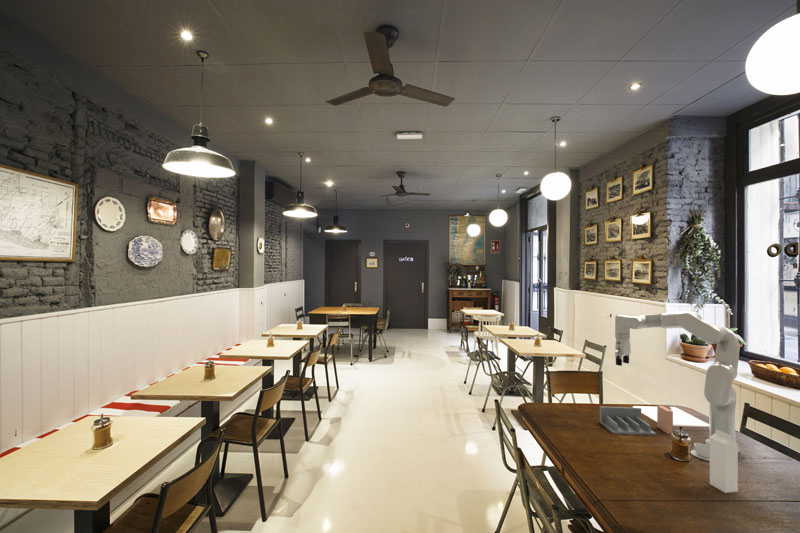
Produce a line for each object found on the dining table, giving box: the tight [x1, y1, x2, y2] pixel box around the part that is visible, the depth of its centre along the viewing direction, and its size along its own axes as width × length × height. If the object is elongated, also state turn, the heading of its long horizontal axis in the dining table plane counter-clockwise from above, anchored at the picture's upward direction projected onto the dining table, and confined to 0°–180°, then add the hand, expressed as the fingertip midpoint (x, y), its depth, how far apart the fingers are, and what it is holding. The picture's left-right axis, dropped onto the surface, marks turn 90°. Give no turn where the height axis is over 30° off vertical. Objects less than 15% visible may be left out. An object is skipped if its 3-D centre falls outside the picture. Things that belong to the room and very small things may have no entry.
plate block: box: [656, 405, 674, 435], centre depth 192 cm, size 8×3×12 cm, turn 176°
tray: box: [632, 405, 709, 428], centre depth 212 cm, size 28×28×2 cm
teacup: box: [689, 442, 710, 462], centre depth 165 cm, size 10×10×5 cm
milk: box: [709, 429, 739, 494], centre depth 141 cm, size 6×6×22 cm
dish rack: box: [599, 405, 657, 436], centre depth 194 cm, size 14×22×9 cm, turn 86°
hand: (622, 364), depth 211 cm, fingers open, 9 cm apart
